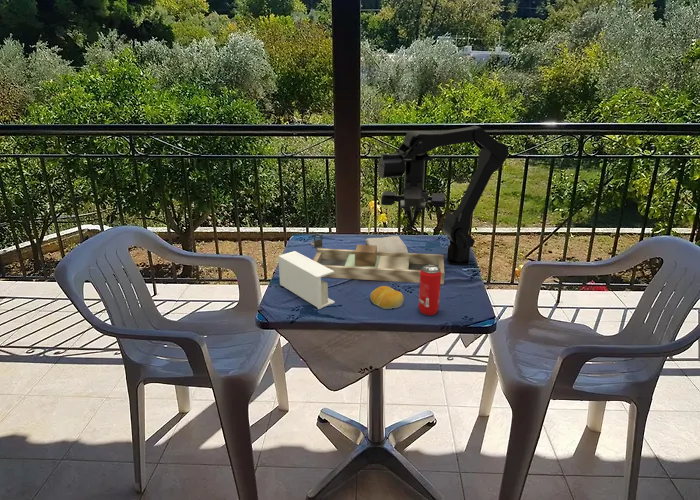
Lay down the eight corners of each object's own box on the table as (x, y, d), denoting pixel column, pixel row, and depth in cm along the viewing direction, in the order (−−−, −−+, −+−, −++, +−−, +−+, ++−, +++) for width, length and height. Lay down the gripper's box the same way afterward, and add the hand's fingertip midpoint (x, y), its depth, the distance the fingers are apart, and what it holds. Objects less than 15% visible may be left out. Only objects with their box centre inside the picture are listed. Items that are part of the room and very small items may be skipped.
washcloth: (374, 263, 162) (374, 254, 161) (364, 243, 179) (364, 235, 178) (411, 261, 164) (411, 252, 163) (397, 241, 181) (397, 233, 179)
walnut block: (376, 259, 158) (376, 245, 156) (374, 266, 153) (375, 252, 151) (357, 258, 159) (357, 244, 157) (354, 265, 153) (354, 251, 152)
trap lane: (442, 265, 160) (443, 254, 158) (443, 284, 147) (444, 273, 146) (317, 258, 165) (317, 248, 164) (308, 276, 152) (307, 265, 151)
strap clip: (309, 244, 178) (308, 233, 176) (317, 243, 179) (316, 231, 177) (319, 252, 171) (318, 240, 169) (327, 251, 172) (326, 239, 170)
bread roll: (389, 313, 131) (389, 299, 130) (365, 301, 138) (365, 288, 136) (410, 303, 136) (411, 290, 135) (387, 292, 143) (387, 279, 141)
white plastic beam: (335, 303, 137) (334, 271, 133) (318, 309, 133) (317, 277, 130) (293, 279, 151) (292, 249, 147) (277, 284, 148) (275, 254, 144)
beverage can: (416, 306, 134) (418, 265, 130) (435, 305, 135) (438, 264, 130) (420, 316, 129) (423, 273, 125) (440, 315, 130) (443, 272, 125)
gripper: (379, 181, 143) (378, 234, 148) (447, 183, 140) (443, 237, 146) (383, 172, 153) (382, 222, 159) (446, 174, 150) (443, 224, 156)
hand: (412, 226), depth 154 cm, fingers closed
